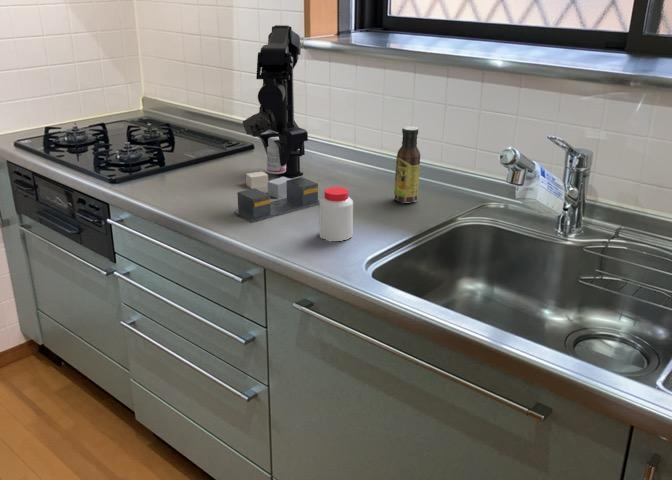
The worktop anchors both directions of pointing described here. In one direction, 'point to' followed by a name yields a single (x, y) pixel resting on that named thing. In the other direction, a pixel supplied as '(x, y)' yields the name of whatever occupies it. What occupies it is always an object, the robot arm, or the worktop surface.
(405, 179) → the sauce bottle
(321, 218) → the pill bottle
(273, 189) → the grey block
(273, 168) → the pill bottle
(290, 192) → the dark grey block rack
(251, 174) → the cream rectangular block
